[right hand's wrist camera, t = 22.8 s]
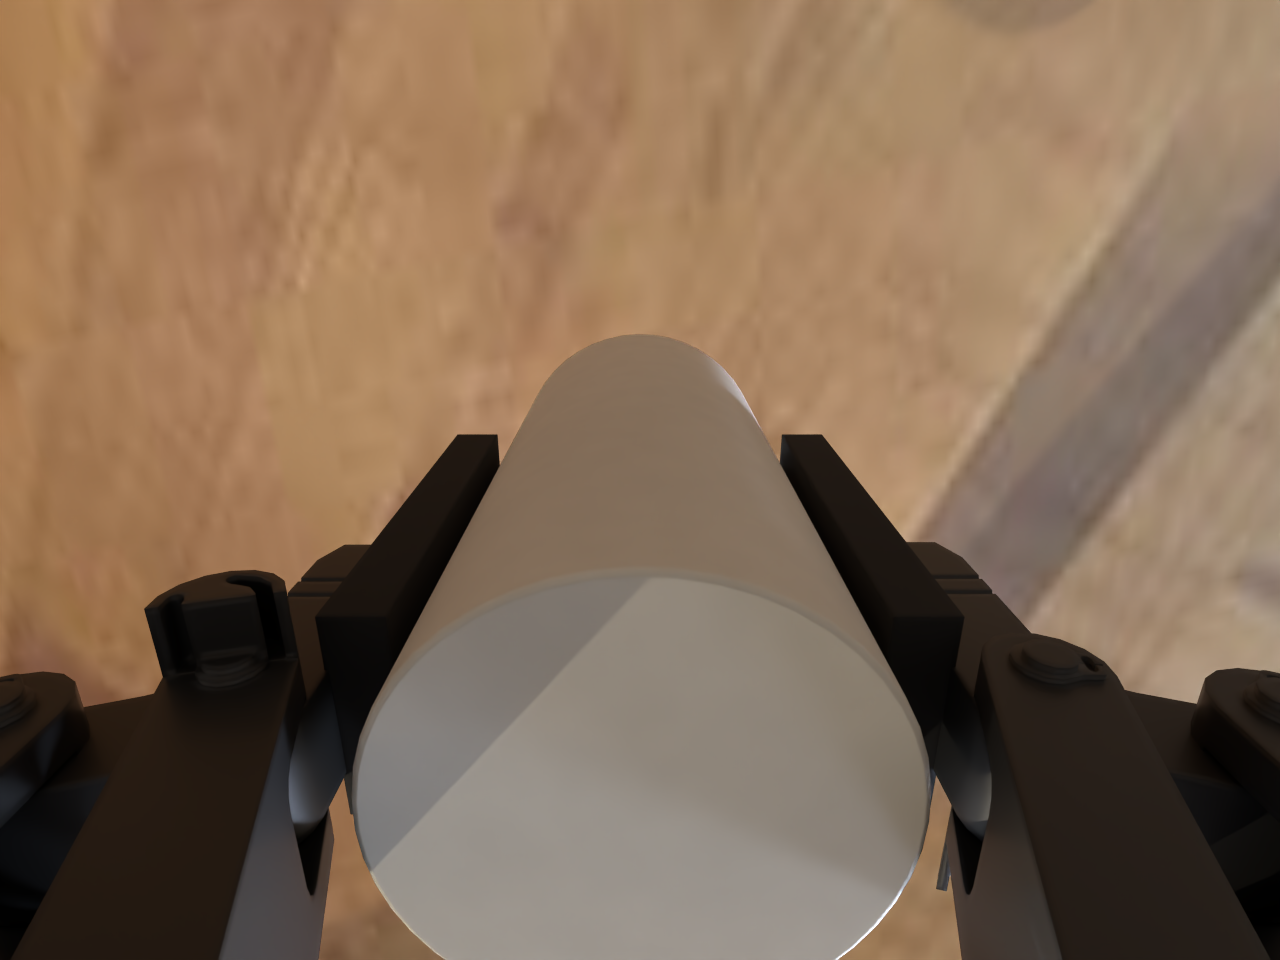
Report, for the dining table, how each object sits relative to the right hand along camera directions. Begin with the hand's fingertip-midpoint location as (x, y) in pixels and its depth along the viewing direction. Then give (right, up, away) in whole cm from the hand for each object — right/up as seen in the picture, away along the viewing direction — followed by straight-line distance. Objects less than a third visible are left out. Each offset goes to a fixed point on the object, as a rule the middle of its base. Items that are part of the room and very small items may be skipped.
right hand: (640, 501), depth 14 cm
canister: (0, +1, +3) cm, 3 cm away
